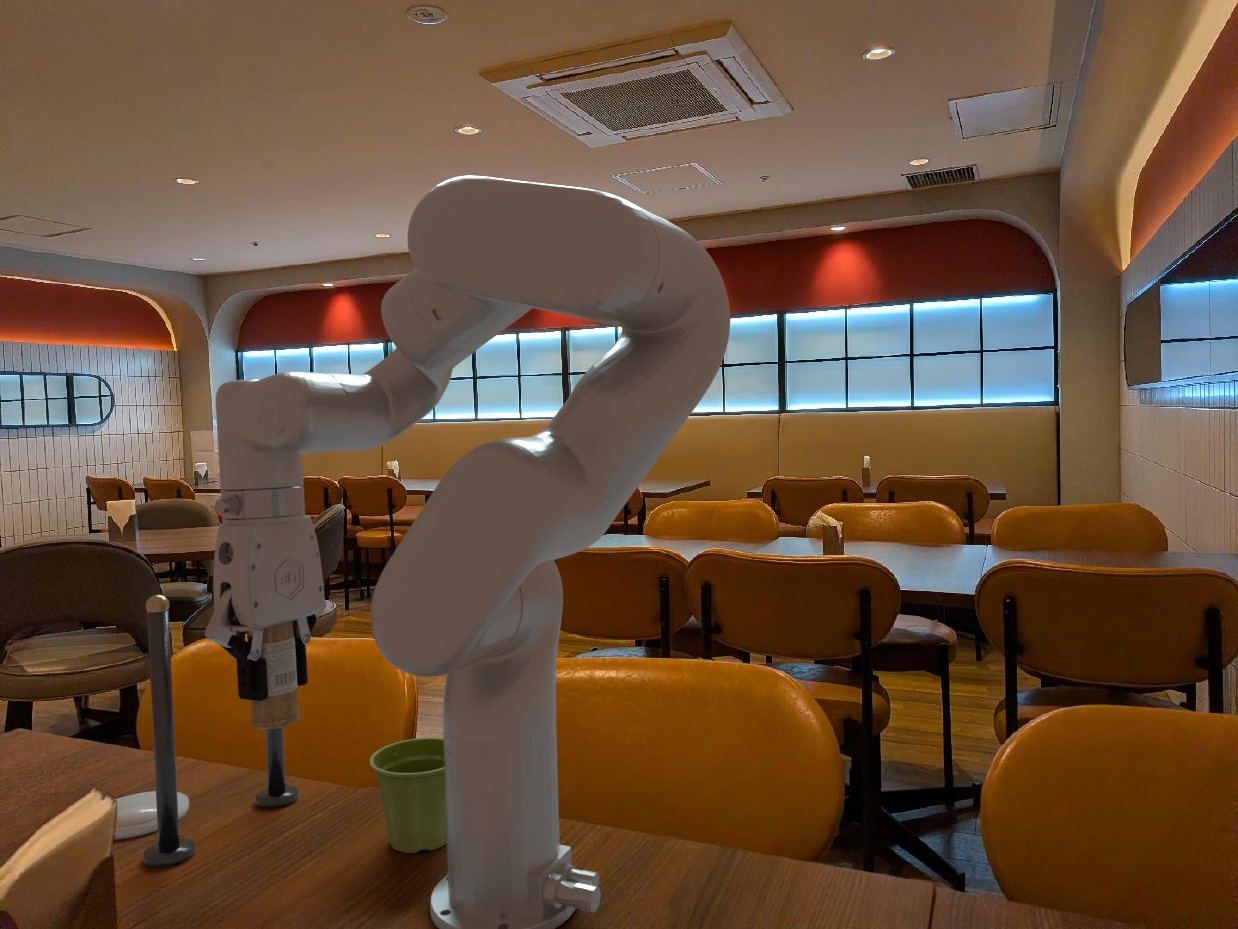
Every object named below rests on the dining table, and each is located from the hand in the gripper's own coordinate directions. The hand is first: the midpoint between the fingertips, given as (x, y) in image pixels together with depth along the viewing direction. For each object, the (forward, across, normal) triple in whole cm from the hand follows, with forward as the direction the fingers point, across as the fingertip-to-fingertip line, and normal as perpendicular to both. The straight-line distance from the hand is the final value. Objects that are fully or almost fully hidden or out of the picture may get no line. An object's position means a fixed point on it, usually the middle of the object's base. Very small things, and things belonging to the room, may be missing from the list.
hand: (273, 689), depth 85 cm
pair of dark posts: (+15, +1, +9) cm, 18 cm away
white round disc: (+15, -1, +20) cm, 25 cm away
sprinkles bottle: (+4, 0, 0) cm, 4 cm away
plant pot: (+16, +6, -12) cm, 21 cm away
